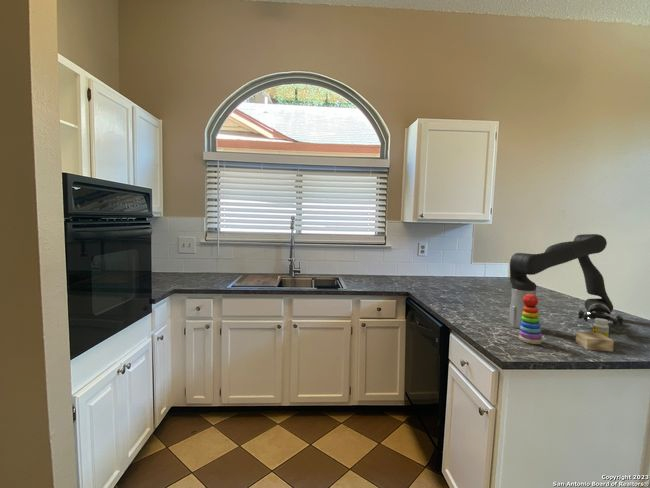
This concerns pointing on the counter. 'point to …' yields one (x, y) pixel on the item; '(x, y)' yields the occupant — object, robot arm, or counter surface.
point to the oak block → (594, 341)
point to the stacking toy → (530, 321)
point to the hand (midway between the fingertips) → (600, 321)
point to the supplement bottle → (601, 326)
